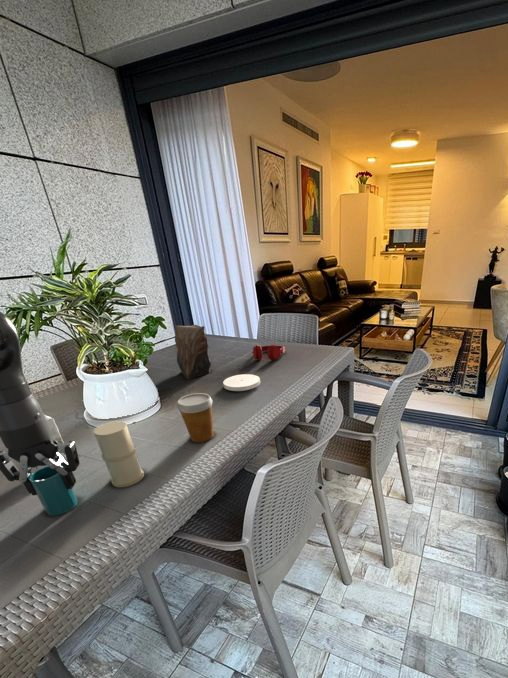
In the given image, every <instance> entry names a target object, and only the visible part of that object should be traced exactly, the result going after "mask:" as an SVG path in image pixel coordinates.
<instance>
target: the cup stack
mask: <svg viewBox="0 0 508 678" xmlns="http://www.w3.org/2000/svg"><path fill="white" fill-rule="evenodd" d="M93 435H94V437H95V440H96V442H97V445H98V447H99V451H100V452H101V459H102V461H103V462H104V463H105V465H106V468H107V470H108V473H109V476H110V482H111V484H112V486H113V487H116V488H126V487H131V486H133V485H135V484H137V483H139V482H140V481H141V480H143V478H144V476H145V472H144V469H142V466H141V464H140V460H139V458H138V455H137V448H136V445H134V442H133V440H132V437H131V433H130V429H129V428H128V424H127V422H125V421H122V420H116V421H115V420H114V421H109V422H106V423H103V424H101V425H98V426H97V427H96V428H94V430H93Z"/></svg>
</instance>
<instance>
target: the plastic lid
mask: <svg viewBox="0 0 508 678" xmlns="http://www.w3.org/2000/svg"><path fill="white" fill-rule="evenodd" d="M222 384H223V388H224V389H225V390H227V391H231V392H244V391H249V390H252V389H255V388H257V387H258V386H259V385H261V378H260V377H259V376H258V375H255V374H251V373H250V374H249V373H243V374H236V375H232V376H229V377H227V378H225V379H224V380H223V381H222Z"/></svg>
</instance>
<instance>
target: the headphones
mask: <svg viewBox="0 0 508 678" xmlns="http://www.w3.org/2000/svg"><path fill="white" fill-rule="evenodd" d="M263 352H266V354H267V358H268V359H269V360H270V361H276V360H279V358H280V356H281V355H282V354H284V353H286V347H285V346H283V345H276V344H270V345H260V344H256V345H254V346H253V348H252V351H251V353H252V354H253V358H254V360H255V361H261V360H262V359H263Z"/></svg>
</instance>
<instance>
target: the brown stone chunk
mask: <svg viewBox="0 0 508 678" xmlns="http://www.w3.org/2000/svg"><path fill="white" fill-rule="evenodd" d="M174 329H175V333H174V342H175V347H176V349H177V351H176V363H177V365H178V367H179V371H180V372H181V375H182V376H184V378H185V379H187V380H191V379H194V378H197V377H199V376H200V377H202V376H204V375H208V374H210V373H211V372H212V371H211V370H210V369H211V367H212V362H211V359H210V355H209V348H210V346H209V345H210V344H209V342H208V337H207V335H206V332H205V330H206V329H205V326H204V325H202V326H201V325H197V324H192V325H175V326H174Z"/></svg>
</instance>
